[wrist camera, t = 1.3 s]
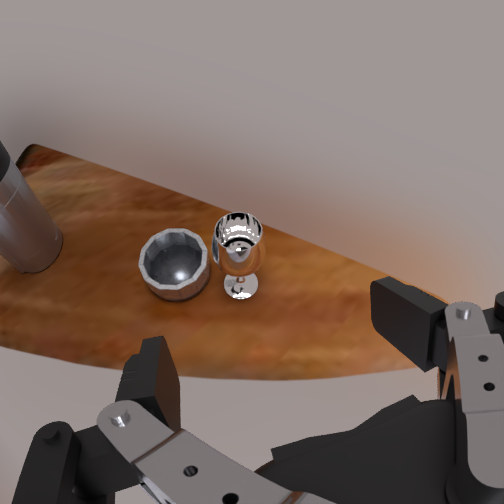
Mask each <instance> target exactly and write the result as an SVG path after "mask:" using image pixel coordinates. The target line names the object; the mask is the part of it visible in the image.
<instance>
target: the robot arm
mask: <svg viewBox="0 0 504 504" xmlns="http://www.w3.org/2000/svg"><path fill="white" fill-rule="evenodd" d="M62 241H63V238H62V233H61V231H60V229H59V228H58V227H57V225H56V223H55V222H54V221H53V220H52V218H51V217H50V215H49V214H48V213H47V211H46V210H45V208H44V207H43V206H42V204H41V203H40V201H39V200H38V198H37V197H36V196H35V194H34V193H33V191H32V190H31V188H30V187H29V185H28V184H27V182H26V181H25V179H24V178H23V176H22V174H21V173H20V171H19V170H18V168H17V167H16V165H15V163H14V162H13V160H12V159H11V157H10V155H9V154H8V152H7V151H6V149H5V147H4V146H3V144H2V143H1V141H0V254H1V255H2V256H3V257H4V258H5V259H6V260H7V261H8V262H9V263H11V264H12V265H13V266H14V267H15V268H16V269H17V270H18V271H19V272H20V273H21V274H23V273H24V272H31V273H35V272H39V271H42V270H44V269H46V268H47V267H48V266H49V265H51V263H52V262H53V261H54V260H55V259H56V257H57V256H58V254H59V252H60V250H61V247H62ZM370 295H371V319H372V323H373V326H374V328H375V330H376V331H377V332H378V333H379V334H380V335H381V336H383V337H384V338H385V339H386V340H387V341H389V342H390V343H391V344H392V345H393V346H394V347H396V348H397V349H398V350H399V351H400V352H402V353H403V354H404V355H405V356H406V357H407V358H409V359H410V360H411V361H412V362H413V363H414V364H416V365H417V366H418V367H419V368H420V369H421V370H423V371H424V372H427V371H429V370H430V369H432V368H434V367H436V366H438V367H439V368H438V375H437V381H438V382H437V383H438V384H437V385H438V386H437V387H438V399H437V400H429V401H424V402H420V401H419V400H418V399H417V398H416V397H415V396H414V395H411V396H409V397H407V398H405V399H403V400H401V401H398V402H396V403H394V404H392V405H390V406H388V407H386V408H383V409H382V410H380V411H379V412H378V413H376V414H375V415H373V416H372V417H371V418H369V419H368V420H366V421H365V422H363V423H362V424H360V425H359V426H358V427H356V428H354V429H352V430H349V431H345V432H339V433H333V434H327V435H321V436H314V437H309V438H305V439H302V440H299V441H296V442H293V443H289V444H286V445H283V446H279V447H276V448H272V449H271V452H272V456H273V460H272V461H270V462H268V463H266V464H265V465H263V466H261V467H260V468H258V469H257V470H256V471H254V472H253V471H251V470H249V469H247V468H245V467H244V466H242V465H240V464H238V463H237V462H235V461H233V460H232V459H230V458H228V457H227V456H225V455H223V454H222V453H220V452H219V451H217V450H216V449H214V448H212V447H211V446H209V445H208V444H206V443H205V442H203V441H202V440H200V439H199V438H197V437H196V436H194V435H193V434H191V433H190V432H188V431H186V430H184V429H182V428H181V424H180V383H179V378H178V374H177V371H176V368H175V365H174V363H173V360H172V357H171V354H170V351H169V349H168V346H167V343H166V340H165V338H164V336H158V337H153V338H148V339H143V341H142V346H141V350H140V354H135V355H132V356H131V357H130V358H129V360H128V361H127V362H126V363H125V366H124V369H123V374H122V377H121V381H120V384H119V388H118V391H117V395H116V399H115V403H112V404H110V405H108V406H107V407H105V408H104V409H103V410H102V411H101V412H100V414H99V415H98V418H97V425H95V426H93V427H90V428H87V429H84V430H81V431H77V432H74V431H73V429H72V428H71V427H70V425H69V424H68V423H66V422H61V421H57V422H52V423H49V424H47V425H45V426H43V427H42V428H40V429H39V430H38V431H37V432H36V434H35V435H34V437H33V440H32V443H31V445H30V448H29V451H28V454H27V457H26V460H25V462H24V465H23V469H22V472H21V474H20V477H19V481H18V484H17V487H16V490H15V494H14V497H13V501H12V504H115V492H117V491H120V490H123V489H126V488H129V487H132V486H135V485H139V486H140V487H141V488H142V489H143V490H144V491H145V492H146V493H147V494H148V495H149V496H150V497H151V498H152V499H153V500H154V501H155V502H156V503H157V504H504V291H503V292H500V293H498V294H497V295H496V298H495V306H494V308H490V309H486V310H482V309H481V308H480V307H479V306H478V305H476V304H474V303H470V302H455V303H452V304H450V305H448V304H446V303H444V302H442V301H441V300H439V299H437V298H435V297H433V296H430V295H429V294H427V293H426V292H423V291H422V290H420V289H418V288H416V287H414V286H410V285H405V284H403V283H401V282H400V281H398V280H396V279H394V278H392V277H390V276H388V277H385V278H382V279H379V280H375V281H373V282H372V283H371V285H370Z"/></svg>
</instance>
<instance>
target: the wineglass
mask: <svg viewBox="0 0 504 504" xmlns="http://www.w3.org/2000/svg"><path fill="white" fill-rule="evenodd" d="M266 251H267V245H266V239H265V234H264V231H263V229H262V226H261V224H260V222H259V221H258V220H257V218H255V217H254V216H252V215H250V214H248V213H244V212H233V213H230V214H227V215H225V216H223V217H222V218H221V219H220V220H219V221H218V222H217V224H216V227H215V230H214V234H213V238H212V254H213V258H214V261H215V263H216V265H217V266H218V267H219V269H220V270H221V271H223V272H224V273H225V274H227V275H226V277H225V279H224V289H225V291H226V292H227V294H228V295H229V296H231V297H233V298H235V299H247V298H249V297H251V296H252V295H253V294H254V293H255V292H256V290H257V288H258V279H257V277H256V275H255V274H254V273H255V272H256V271H257V270H258V269H259V268H260V267H261V266H262V264H263V262H264V260H265V257H266Z"/></svg>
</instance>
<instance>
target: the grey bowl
mask: <svg viewBox="0 0 504 504" xmlns="http://www.w3.org/2000/svg"><path fill="white" fill-rule="evenodd" d="M139 268H140V270H141V273H142V275H143V278H144V280H145V281H146V283H147V285H148V286H149V288H150V289H151V290H152V291H153V292H154V293H155V294H156V295H157V296H158V297H160V298H161V299H163V300H166V301H170V302H183V301H187V300H190V299H192V298H194V297H195V296H197V295H198V294H199V293H200V292H201V291H202V290H203V289H204V288H205V286H206V285H207V283H208V281H209V277H210V260H209V255H208V250H207V248H206V246H205V244H204V243H203V241H202V239H201V238H200V236H199V235H197V234H195V233H193V232H191V231H189V230H187V229H166V230H164V231H162V232H160V233H158V234H156V235H154V236H153V237H151V238H150V239H149V241H148V242H147V243H146V244H145V246H144V247H143V248H142V250H141V254H140V259H139Z"/></svg>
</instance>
